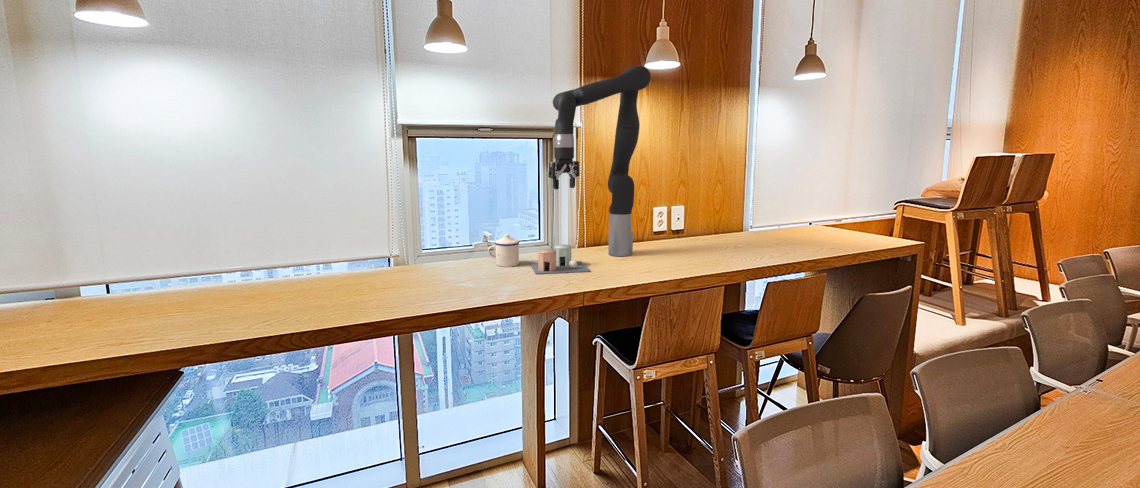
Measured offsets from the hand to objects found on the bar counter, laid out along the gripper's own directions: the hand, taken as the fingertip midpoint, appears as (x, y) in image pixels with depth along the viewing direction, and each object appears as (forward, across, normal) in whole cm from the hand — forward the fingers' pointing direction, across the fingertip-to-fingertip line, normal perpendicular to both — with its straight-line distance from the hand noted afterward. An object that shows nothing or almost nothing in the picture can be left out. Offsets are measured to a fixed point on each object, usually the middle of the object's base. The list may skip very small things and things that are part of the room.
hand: (564, 188), depth 213 cm
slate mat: (+28, +11, +10) cm, 32 cm away
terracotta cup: (+28, +17, +9) cm, 34 cm away
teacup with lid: (+28, +23, -9) cm, 38 cm away
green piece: (+28, +8, +7) cm, 30 cm away
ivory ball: (+28, +9, +14) cm, 33 cm away
